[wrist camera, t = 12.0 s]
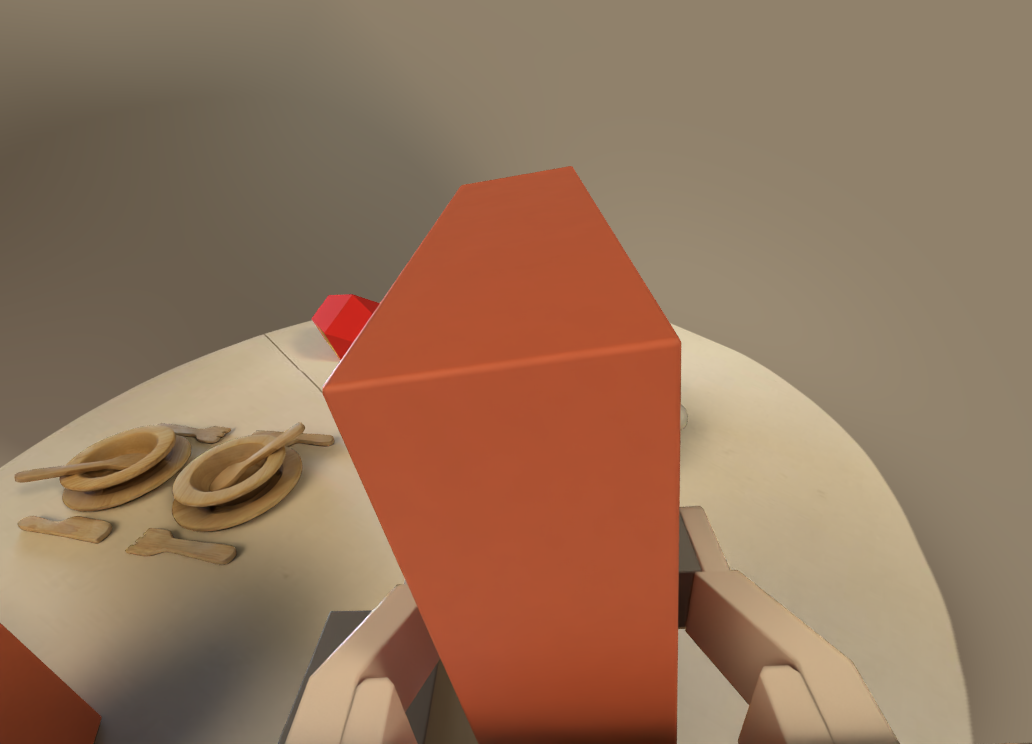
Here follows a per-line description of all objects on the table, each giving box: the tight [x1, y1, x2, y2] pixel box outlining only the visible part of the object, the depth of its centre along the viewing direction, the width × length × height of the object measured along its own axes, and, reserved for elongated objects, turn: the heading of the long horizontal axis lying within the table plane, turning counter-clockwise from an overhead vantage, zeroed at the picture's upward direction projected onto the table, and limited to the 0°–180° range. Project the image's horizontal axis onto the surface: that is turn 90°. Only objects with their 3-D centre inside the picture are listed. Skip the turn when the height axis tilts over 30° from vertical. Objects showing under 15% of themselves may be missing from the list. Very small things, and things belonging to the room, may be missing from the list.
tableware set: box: [15, 423, 334, 565], centre depth 55 cm, size 30×20×6 cm, turn 77°
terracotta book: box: [323, 166, 681, 744], centre depth 12 cm, size 10×3×15 cm, turn 179°
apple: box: [312, 294, 380, 360], centre depth 79 cm, size 12×12×15 cm
